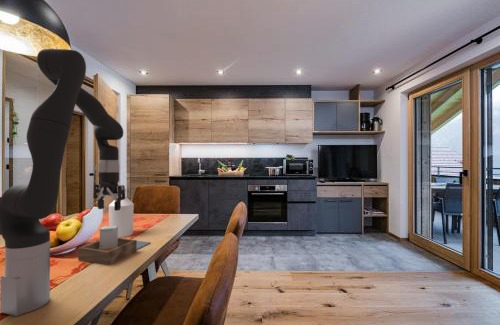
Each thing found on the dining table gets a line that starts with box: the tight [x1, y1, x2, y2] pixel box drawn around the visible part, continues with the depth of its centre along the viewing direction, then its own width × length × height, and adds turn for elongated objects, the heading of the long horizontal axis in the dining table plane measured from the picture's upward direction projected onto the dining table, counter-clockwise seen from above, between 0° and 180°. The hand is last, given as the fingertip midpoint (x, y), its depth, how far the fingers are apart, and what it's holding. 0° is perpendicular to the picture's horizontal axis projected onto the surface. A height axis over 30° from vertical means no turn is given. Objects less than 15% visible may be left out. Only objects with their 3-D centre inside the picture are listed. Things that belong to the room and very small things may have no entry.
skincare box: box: [99, 225, 118, 251], centre depth 104 cm, size 6×4×12 cm
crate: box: [77, 237, 138, 266], centre depth 104 cm, size 15×15×5 cm
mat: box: [137, 240, 151, 250], centre depth 116 cm, size 9×9×1 cm
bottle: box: [108, 187, 135, 238], centre depth 133 cm, size 12×12×25 cm
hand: (109, 209), depth 103 cm, fingers open, 8 cm apart
